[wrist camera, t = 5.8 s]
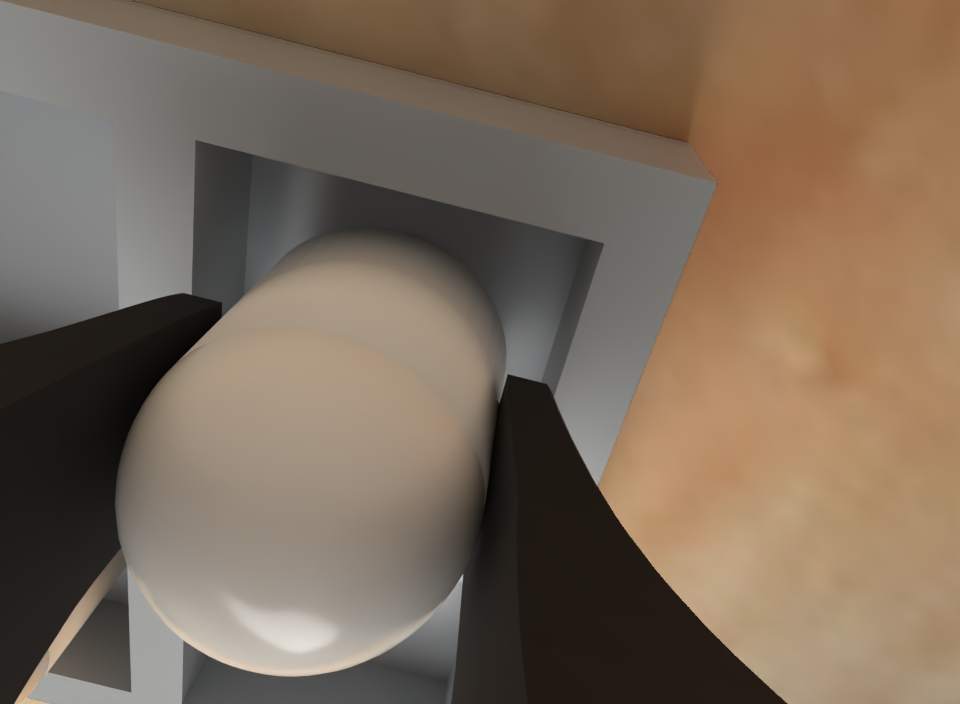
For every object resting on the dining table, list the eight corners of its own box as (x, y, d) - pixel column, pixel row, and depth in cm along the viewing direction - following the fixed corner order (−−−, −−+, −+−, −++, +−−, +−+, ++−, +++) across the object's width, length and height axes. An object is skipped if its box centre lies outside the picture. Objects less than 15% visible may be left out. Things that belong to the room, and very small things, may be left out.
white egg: (536, 266, 11) (512, 515, 6) (474, 480, 13) (416, 799, 8) (263, 195, 11) (-1, 386, 6) (244, 422, 13) (39, 706, 8)
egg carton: (687, 142, 12) (717, 183, 9) (482, 707, 19) (471, 806, 17) (-228, -91, 12) (-420, -107, 9) (-75, 571, 19) (-162, 651, 17)
